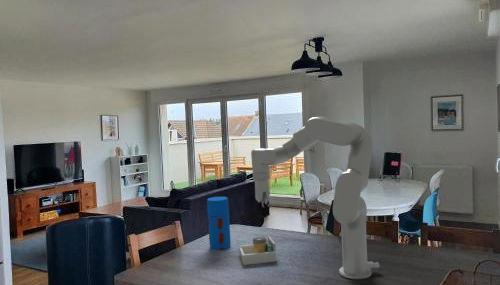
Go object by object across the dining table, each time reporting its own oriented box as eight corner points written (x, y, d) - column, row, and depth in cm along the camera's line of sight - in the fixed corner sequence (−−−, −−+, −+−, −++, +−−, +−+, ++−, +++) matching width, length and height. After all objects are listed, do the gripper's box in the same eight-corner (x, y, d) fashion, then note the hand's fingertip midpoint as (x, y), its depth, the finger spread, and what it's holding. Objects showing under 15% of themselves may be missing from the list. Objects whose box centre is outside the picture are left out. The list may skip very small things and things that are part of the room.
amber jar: (265, 253, 182) (264, 236, 182) (268, 257, 176) (267, 240, 176) (252, 254, 182) (251, 237, 181) (254, 258, 175) (253, 241, 175)
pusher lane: (270, 251, 187) (269, 235, 186) (276, 261, 173) (275, 244, 173) (239, 254, 185) (238, 238, 184) (243, 265, 171) (242, 247, 170)
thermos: (211, 251, 192) (208, 201, 190) (208, 245, 202) (205, 198, 201) (233, 248, 194) (230, 199, 193) (228, 242, 205) (225, 195, 204)
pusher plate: (267, 250, 185) (266, 239, 185) (271, 258, 174) (271, 245, 174) (264, 250, 185) (263, 239, 185) (269, 258, 174) (268, 246, 174)
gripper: (250, 174, 183) (252, 210, 183) (256, 178, 166) (259, 218, 166) (265, 173, 184) (268, 208, 184) (273, 177, 167) (276, 216, 167)
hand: (264, 213), depth 175 cm, fingers open, 9 cm apart
